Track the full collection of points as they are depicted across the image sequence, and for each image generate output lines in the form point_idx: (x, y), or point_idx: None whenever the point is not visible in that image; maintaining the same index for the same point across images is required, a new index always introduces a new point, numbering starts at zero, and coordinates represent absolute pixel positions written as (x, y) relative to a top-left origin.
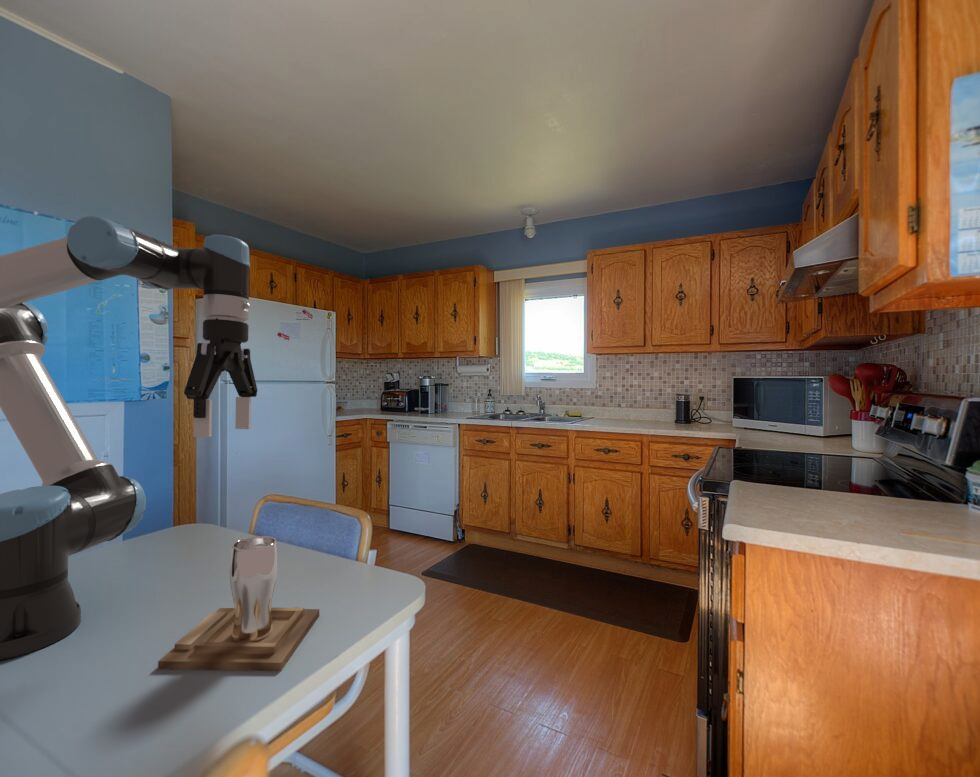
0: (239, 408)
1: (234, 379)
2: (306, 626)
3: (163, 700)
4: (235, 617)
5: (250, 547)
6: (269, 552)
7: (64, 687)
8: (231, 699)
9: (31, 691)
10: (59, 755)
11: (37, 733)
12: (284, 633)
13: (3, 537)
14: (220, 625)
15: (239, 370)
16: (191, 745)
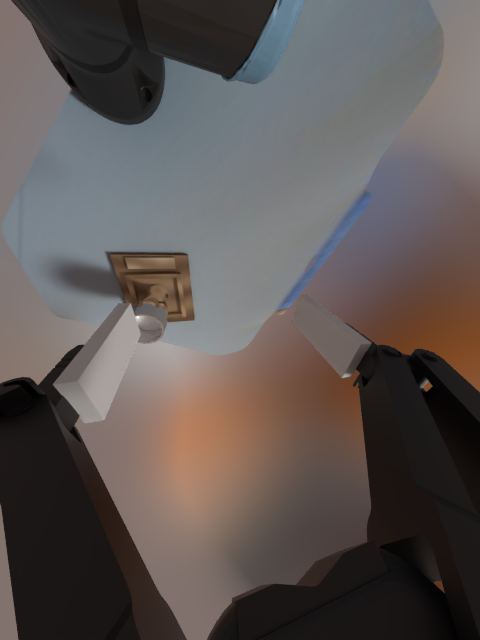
0: (328, 330)
1: (387, 430)
2: (172, 321)
3: (87, 277)
4: (146, 294)
5: (159, 314)
6: (142, 339)
7: (68, 197)
8: (103, 311)
9: (51, 170)
10: (23, 251)
11: (26, 220)
12: None
13: None
14: (153, 277)
15: (374, 531)
16: (66, 311)
